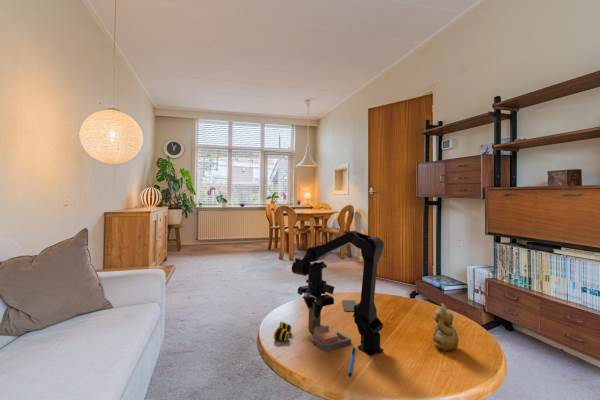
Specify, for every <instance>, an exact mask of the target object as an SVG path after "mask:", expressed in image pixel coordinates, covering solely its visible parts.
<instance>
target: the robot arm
mask: <svg viewBox="0 0 600 400" xmlns="http://www.w3.org/2000/svg"><path fill="white" fill-rule="evenodd" d="M349 244H352V245H353V246H354V247H356V248H357V249H360V252H361V253H360V254H361V255H360V256H361V257H362V260H363V267H362V268H363V269H362V270H363V271H362V280H361V281H362V282H361V283H362V284H361V291H360V301H359V302H358V303H356V305H355V306H354V312H353V315H352V317H353V320H354V323H355V325H356V327H357V331H358V334H359V335H360V345H357V348H358V349H360V350H361V351H362V352H364V353H366V354H367V355H369V356H372V355H375V354H378V353H382V352H384V349H383V348H382V347H381V333H380V332H381V331H382V329H383V327H384V324H383V323H382V321H381V320H380V319H379V317H378V315H377V312H378V311H377V307H376V304H375V293H376V282H377V272H378V263H379V261H380V258H381V257H382V254H383V250H384V246H385V244H384V241H383V240H382V239H381V237H378V236H370V235H368V234H364V233H361V232H359V231H358V230H357V231H356V230H350V231H346V233H343V234H342V235H340V236H337V237H335V238H334V239H331V240H330V241H328V242H325V243H322V244H319V245H315V246H311V247H308V248H307V249H306V251H305V254H304V256H303V258H301V257H295V258H294V261H293V263H292V265H291V272H292V274H294V275H297V276H304V277H307V279H306V280H305V282H306V283H307V285H302V286H299V287H298V288H297V294H298V295H300V296H302V295H303V296H302V298H303V300H304V303H305V304H306V307H307V310H309V307H312V306H313V309H314V313H315V316H316V318H319V315H320V313H321V314H322V310H323V307H326V306H327V307H328V306H331V305H334V304H335V298H334V297H333V296H332V295H333V294H334V291H335V288H336V287H335V286H334V285H331V284H330V283H329V284H328V283H327V280H324V279H323V269H326V268H328V265H327V264H326V263H325V262H324V259H325V258H326V257H328V256H329V255H330V253H332V252H334V251H336V250H338V249H340V248H342V247H344V246H346V245H349ZM322 260H323V261H322ZM318 261H319V262H318ZM326 293H327V294H326ZM329 294H330V295H329Z"/></svg>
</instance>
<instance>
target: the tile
mask: <svg viewBox="0 0 600 400" xmlns="http://www.w3.org/2000/svg"><path fill="white" fill-rule="evenodd" d="M315 338H316V339H318V340H319V341H320V342H322V343H323V344H325V345H326V344H330V343H334V342H337V341H339V337H338V335H337V333H335V332H333V331H332V330H330V329H329V330H326V331H322V332H319V333H316V337H315Z"/></svg>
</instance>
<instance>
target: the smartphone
mask: <svg viewBox="0 0 600 400" xmlns="http://www.w3.org/2000/svg"><path fill="white" fill-rule="evenodd" d="M341 303H342V306H343V307H342V308H343V311H344V312H345V313H346V312H348V313H354V306H355V305H357V303H356V300H348V299H342V300H341Z"/></svg>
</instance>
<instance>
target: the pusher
mask: <svg viewBox="0 0 600 400" xmlns="http://www.w3.org/2000/svg"><path fill="white" fill-rule="evenodd" d="M321 314H322V312H321V313H320V315H319V318H316V316H315V313H314V309H313V306H312V307H309V309H308V323H307V324H308V327H307V329H308V330H309V331H310V332H312V333H313V338H316V333H319V332H322V331H326V330H330V328H329V327H330V326H329V324H327V323H326V324H321V320H322V319H321V318H322V316H321Z"/></svg>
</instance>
